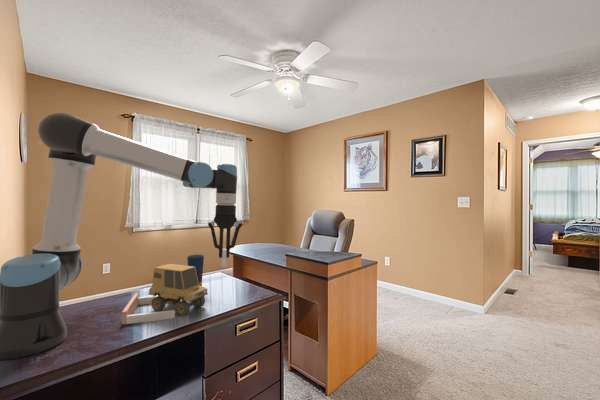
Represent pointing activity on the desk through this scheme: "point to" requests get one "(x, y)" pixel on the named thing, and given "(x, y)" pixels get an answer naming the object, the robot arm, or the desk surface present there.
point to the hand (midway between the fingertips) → (223, 266)
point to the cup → (197, 265)
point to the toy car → (177, 288)
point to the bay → (143, 317)
